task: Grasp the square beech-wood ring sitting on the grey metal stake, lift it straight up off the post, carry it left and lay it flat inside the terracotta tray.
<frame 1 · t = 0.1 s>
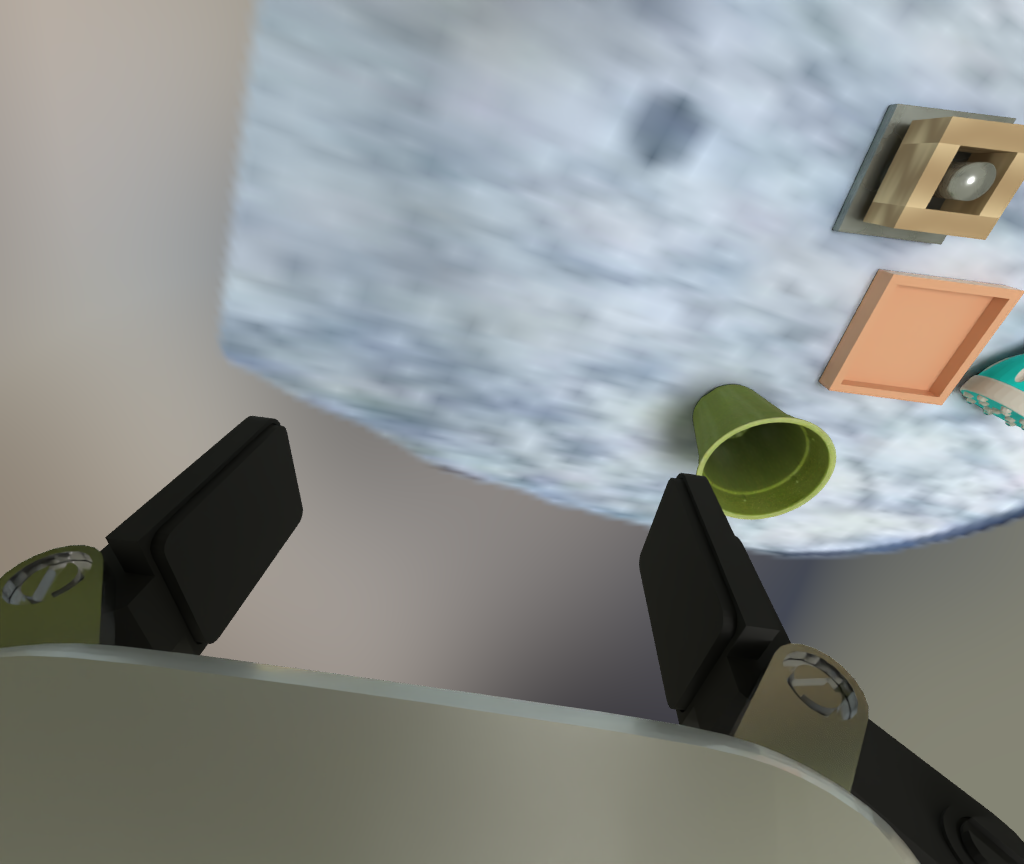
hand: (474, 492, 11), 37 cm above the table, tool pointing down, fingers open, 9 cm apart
stake: (912, 178, 37), on the table
terracotta tray: (904, 336, 43), on the table
wooden ring: (929, 179, 35), point 2 cm above the table, touching stake
plant pot: (723, 411, 50), on the table
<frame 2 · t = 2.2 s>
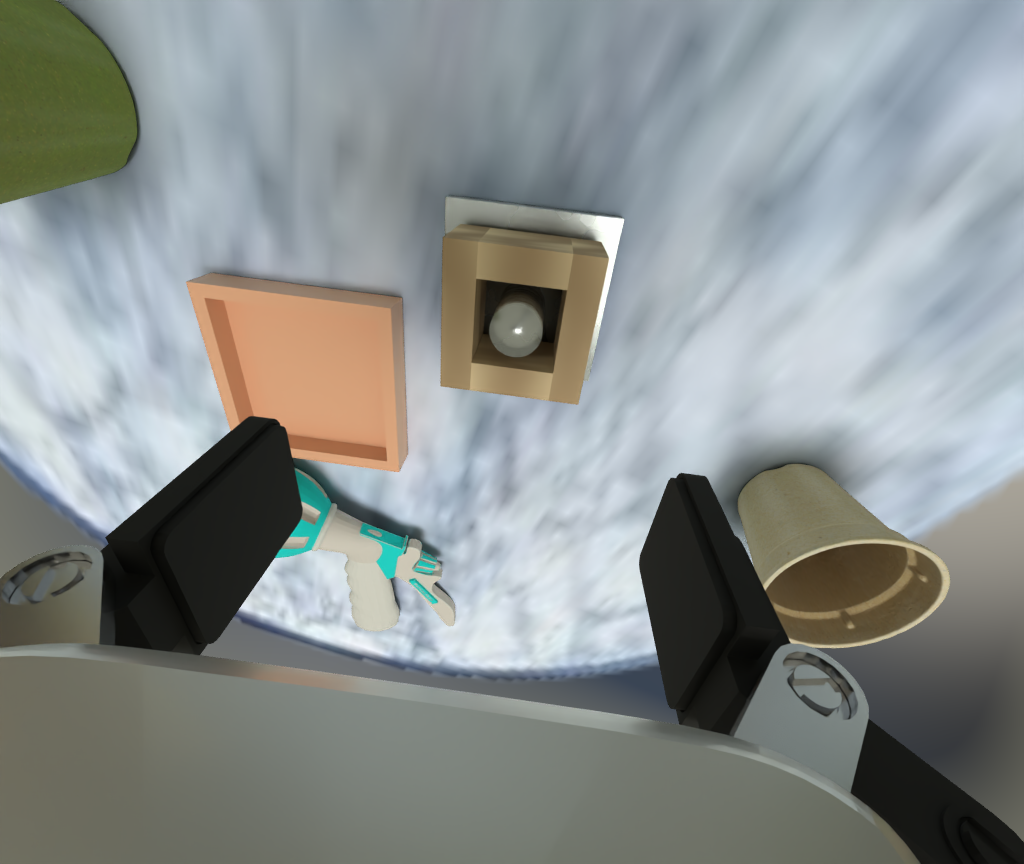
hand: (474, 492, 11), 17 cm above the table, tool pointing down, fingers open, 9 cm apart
stake: (524, 293, 25), on the table
terracotta tray: (319, 373, 29), on the table
garden hose nozzle: (365, 539, 38), on the table
flower pot: (779, 494, 31), on the table
wooden ring: (522, 303, 23), point 2 cm above the table, touching stake
plant pot: (68, 90, 22), on the table
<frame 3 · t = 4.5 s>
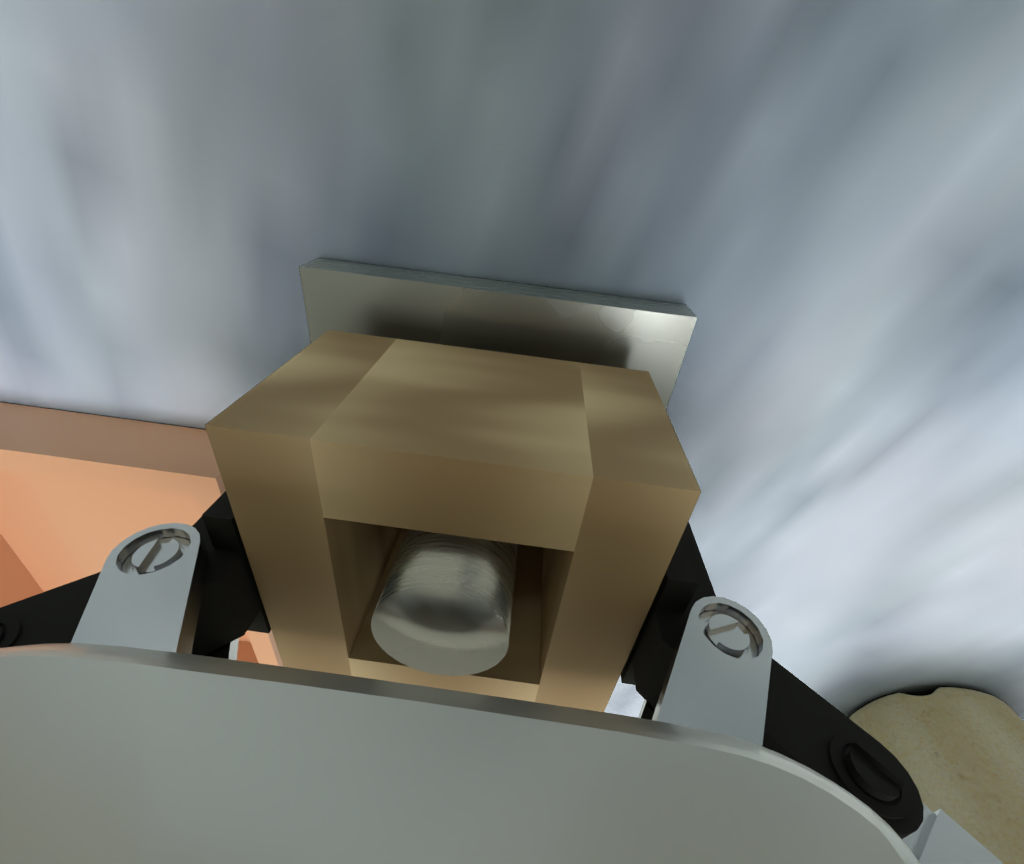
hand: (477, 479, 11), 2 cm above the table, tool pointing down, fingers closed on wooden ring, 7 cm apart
stake: (487, 435, 13), on the table
terracotta tray: (143, 541, 17), on the table
flower pot: (913, 715, 19), on the table
wooden ring: (477, 476, 11), point 2 cm above the table, touching gripper, stake
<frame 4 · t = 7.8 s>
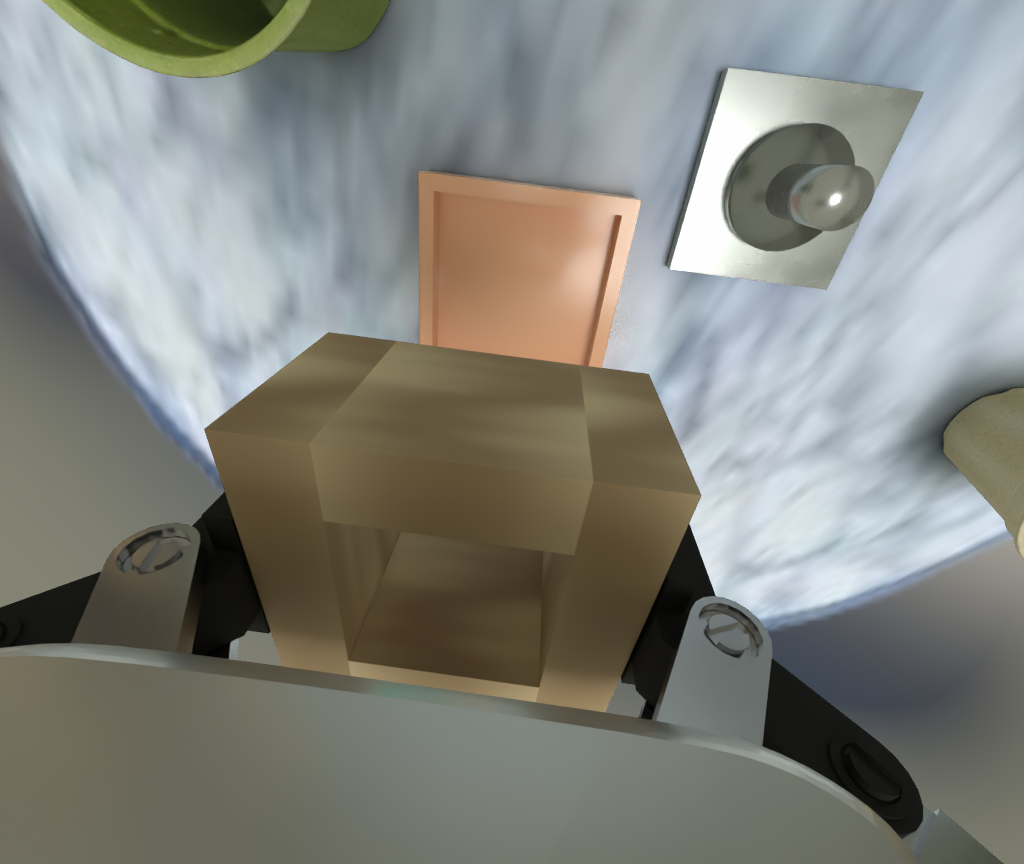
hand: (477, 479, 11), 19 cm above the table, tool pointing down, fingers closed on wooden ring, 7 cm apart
stake: (774, 189, 23), on the table
terracotta tray: (519, 289, 27), on the table
flower pot: (989, 425, 30), on the table
wooden ring: (477, 478, 11), point 19 cm above the table, touching gripper
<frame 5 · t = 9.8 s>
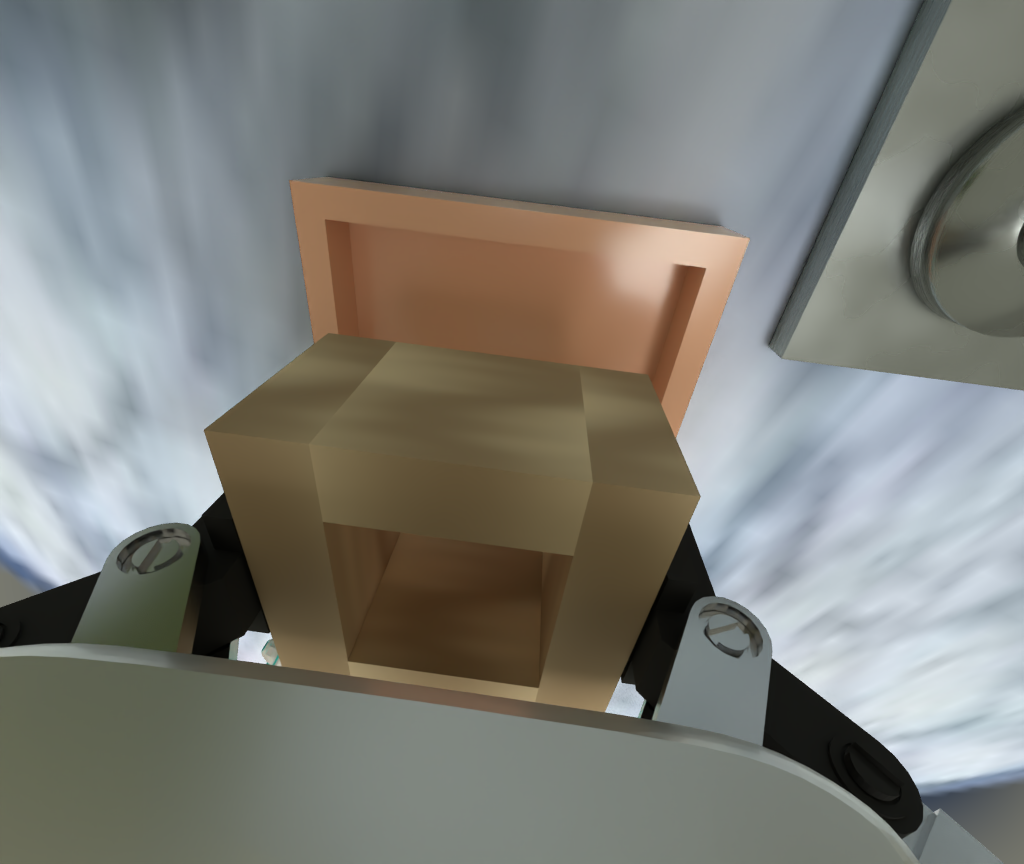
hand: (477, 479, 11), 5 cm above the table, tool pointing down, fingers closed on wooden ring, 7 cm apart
stake: (1006, 211, 12), on the table
terracotta tray: (504, 380, 16), on the table
garden hose nozzle: (475, 626, 25), on the table
wooden ring: (477, 479, 11), point 5 cm above the table, touching gripper
when the fingers open (3 cm above the table, at t = 11.3 s): wooden ring drops 2 cm, resting on terracotta tray.
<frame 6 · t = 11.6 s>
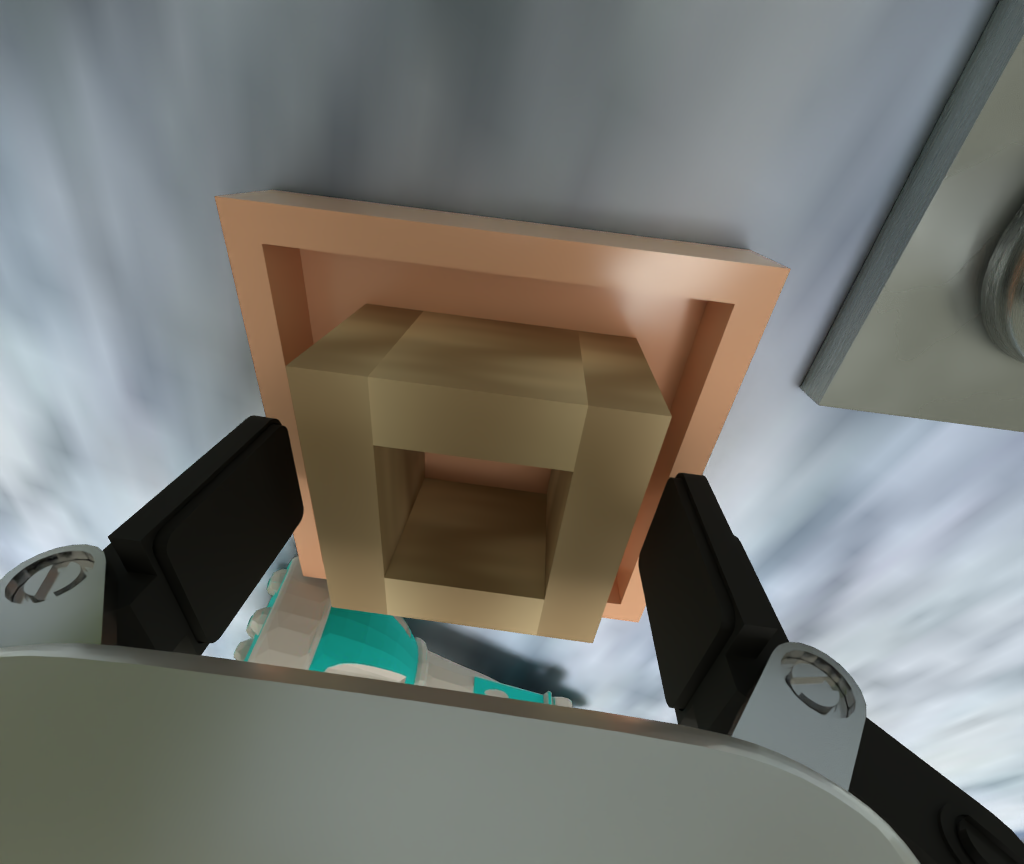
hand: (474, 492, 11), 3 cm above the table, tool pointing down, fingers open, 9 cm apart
terracotta tray: (490, 424, 14), on the table
garden hose nozzle: (454, 674, 23), on the table
wooden ring: (490, 434, 13), point 1 cm above the table, touching terracotta tray
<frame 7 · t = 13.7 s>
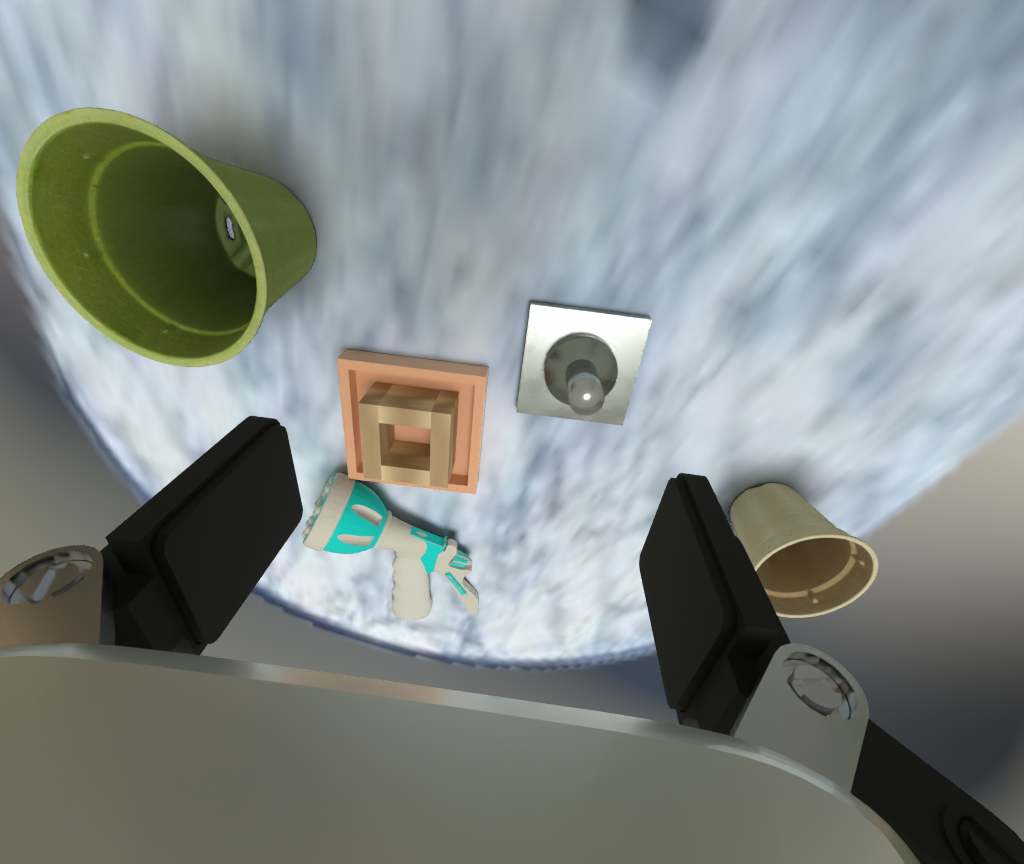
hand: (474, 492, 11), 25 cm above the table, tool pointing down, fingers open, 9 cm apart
stake: (578, 364, 35), on the table
terracotta tray: (417, 419, 39), on the table
garden hose nozzle: (407, 541, 47), on the table
flower pot: (761, 506, 42), on the table
wooden ring: (417, 423, 38), point 1 cm above the table, touching terracotta tray
plant pot: (267, 230, 31), on the table
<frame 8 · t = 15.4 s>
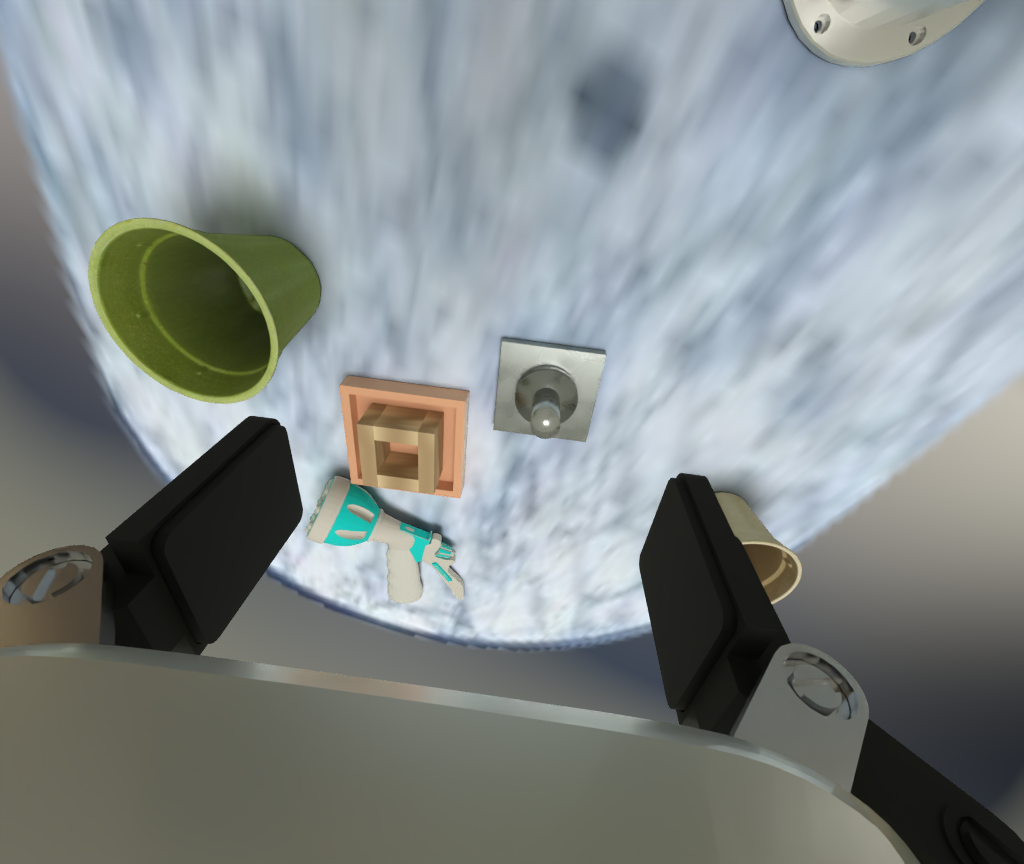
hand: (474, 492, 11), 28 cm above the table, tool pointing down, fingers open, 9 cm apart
stake: (546, 389, 41), on the table
terracotta tray: (410, 434, 44), on the table
garden hose nozzle: (399, 534, 53), on the table
flower pot: (714, 512, 47), on the table
wooden ring: (409, 437, 44), point 1 cm above the table, touching terracotta tray
plant pot: (280, 279, 37), on the table
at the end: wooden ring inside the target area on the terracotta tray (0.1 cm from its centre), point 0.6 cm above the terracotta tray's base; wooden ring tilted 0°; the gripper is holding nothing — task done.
